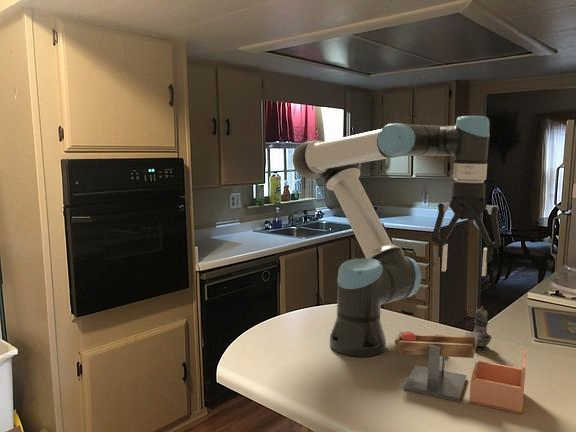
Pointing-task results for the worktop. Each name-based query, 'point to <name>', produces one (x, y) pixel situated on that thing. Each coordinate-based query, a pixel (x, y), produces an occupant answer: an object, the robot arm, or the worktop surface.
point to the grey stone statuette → (482, 330)
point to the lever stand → (435, 378)
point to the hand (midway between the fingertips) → (463, 272)
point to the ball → (408, 336)
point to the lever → (440, 344)
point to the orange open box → (498, 386)
